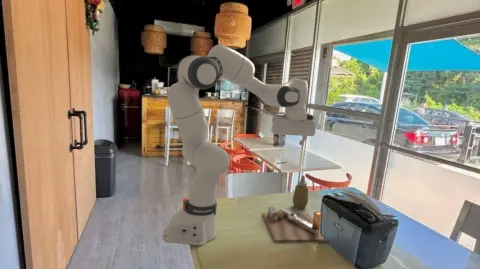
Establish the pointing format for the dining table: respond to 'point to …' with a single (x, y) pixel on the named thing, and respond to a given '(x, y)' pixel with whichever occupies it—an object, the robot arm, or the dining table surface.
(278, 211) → the tan wooden ball
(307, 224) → the lever
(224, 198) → the dining table surface
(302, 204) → the squeeze bottle
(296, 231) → the walnut board
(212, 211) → the robot arm
